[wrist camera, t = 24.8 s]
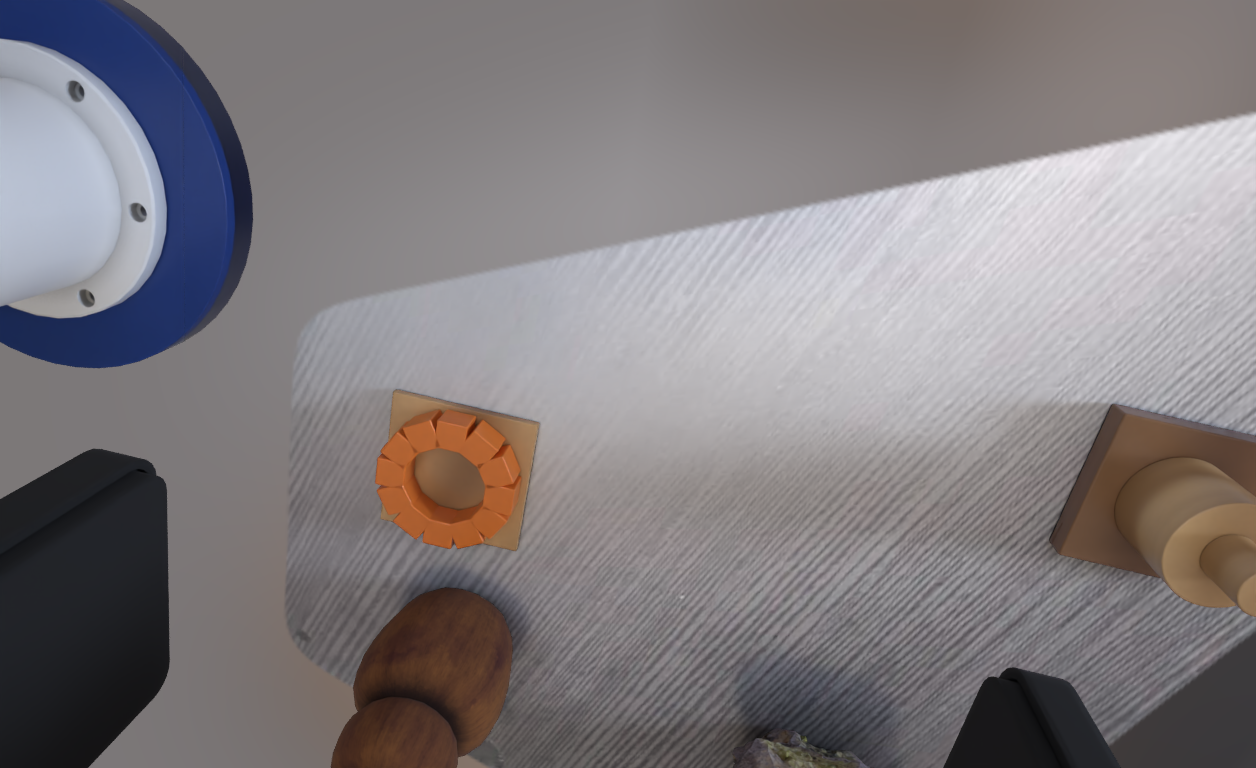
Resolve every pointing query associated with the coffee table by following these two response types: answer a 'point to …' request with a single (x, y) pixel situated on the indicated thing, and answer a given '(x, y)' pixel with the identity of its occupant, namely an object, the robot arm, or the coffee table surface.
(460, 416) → the ring
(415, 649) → the wooden figurine
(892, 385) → the coffee table surface
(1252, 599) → the post
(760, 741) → the rock
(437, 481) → the coaster
